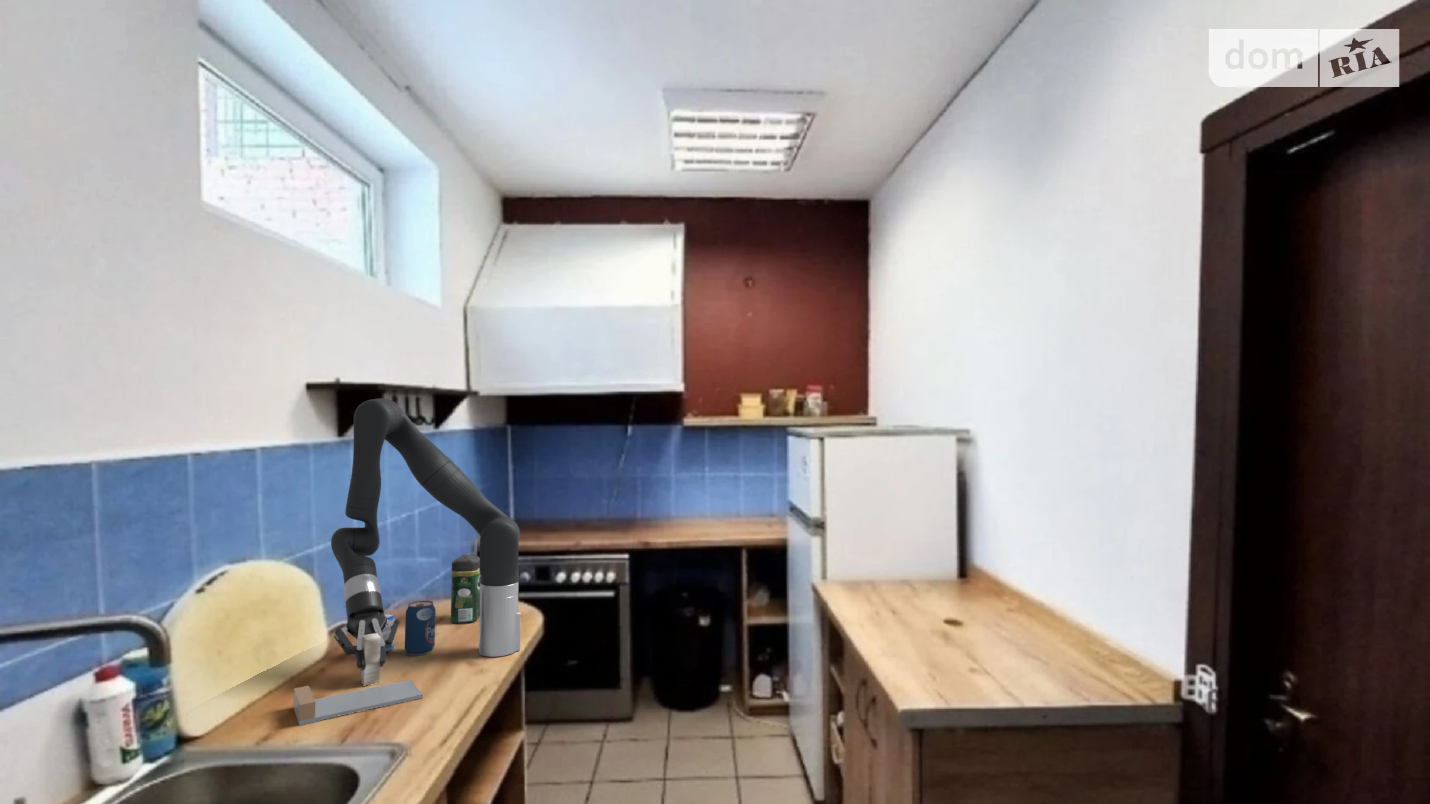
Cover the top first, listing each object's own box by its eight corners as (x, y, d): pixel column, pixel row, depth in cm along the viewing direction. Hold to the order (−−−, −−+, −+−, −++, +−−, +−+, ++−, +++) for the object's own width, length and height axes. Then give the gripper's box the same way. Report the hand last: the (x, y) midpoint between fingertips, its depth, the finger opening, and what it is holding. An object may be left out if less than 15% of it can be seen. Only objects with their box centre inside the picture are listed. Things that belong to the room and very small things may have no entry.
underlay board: (410, 683, 149) (411, 665, 149) (422, 698, 141) (423, 679, 141) (293, 707, 136) (294, 688, 136) (299, 725, 128) (300, 704, 128)
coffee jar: (454, 615, 203) (456, 553, 203) (482, 614, 204) (483, 552, 205) (447, 625, 193) (448, 559, 194) (476, 624, 194) (477, 558, 195)
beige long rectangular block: (375, 678, 152) (376, 633, 152) (379, 683, 149) (380, 637, 149) (360, 681, 150) (362, 635, 151) (364, 686, 147) (365, 639, 148)
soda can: (433, 654, 168) (434, 605, 168) (403, 657, 166) (404, 608, 166) (435, 646, 174) (436, 599, 175) (405, 648, 172) (407, 601, 173)
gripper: (331, 593, 152) (338, 664, 142) (398, 585, 161) (410, 651, 150) (327, 612, 156) (333, 682, 146) (393, 603, 165) (403, 669, 154)
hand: (372, 666), depth 148 cm, fingers closed on beige long rectangular block, 3 cm apart
